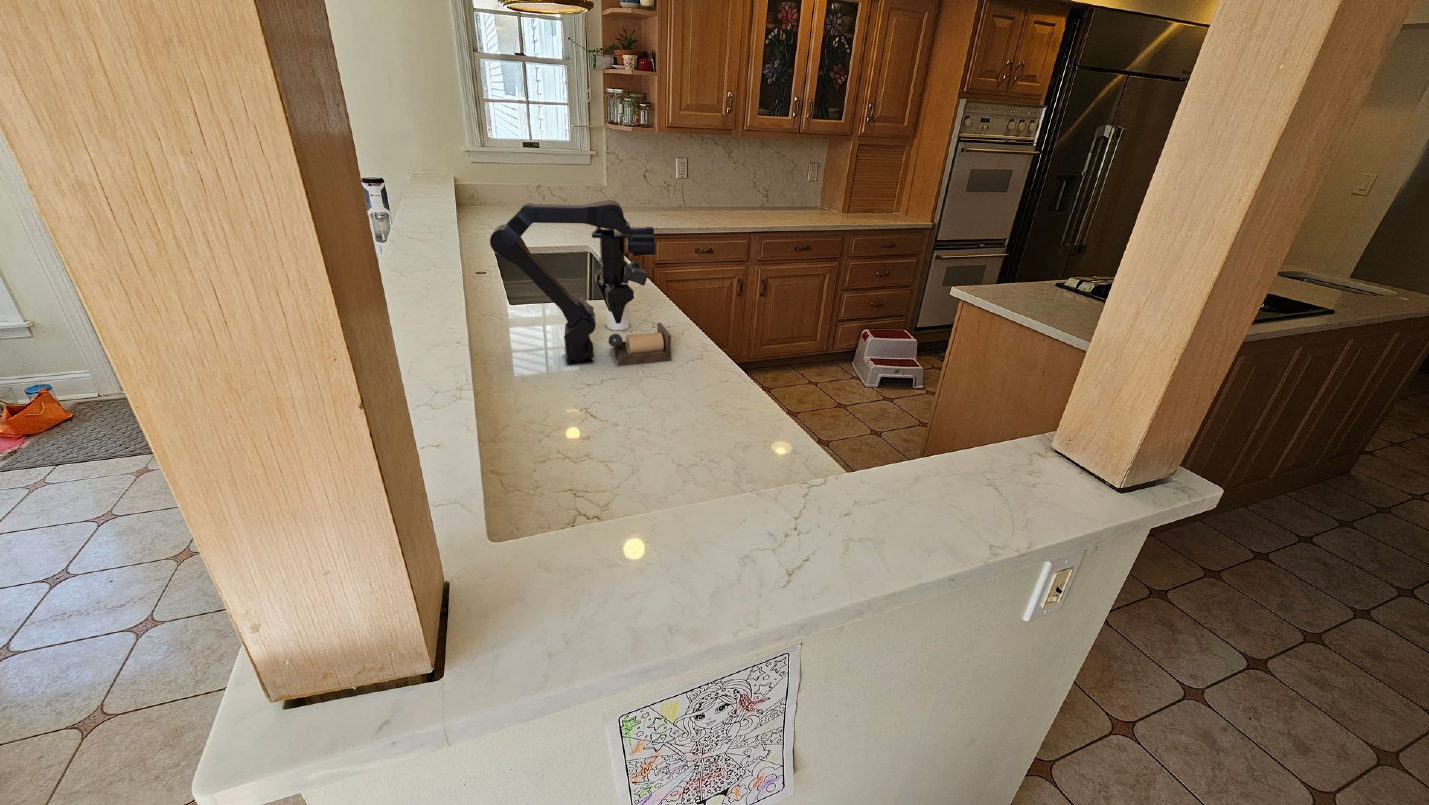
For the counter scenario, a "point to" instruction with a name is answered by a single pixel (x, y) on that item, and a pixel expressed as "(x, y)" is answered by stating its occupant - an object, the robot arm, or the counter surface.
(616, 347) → the tipping cradle
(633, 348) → the paper roll
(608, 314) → the spray bottle
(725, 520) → the counter surface
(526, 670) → the counter surface
